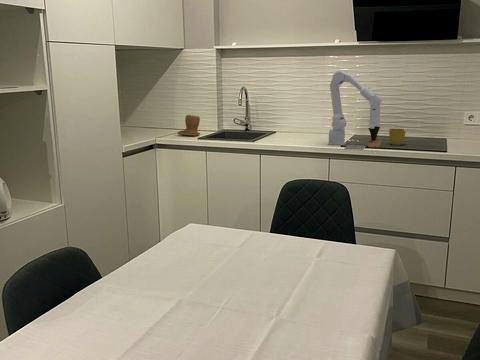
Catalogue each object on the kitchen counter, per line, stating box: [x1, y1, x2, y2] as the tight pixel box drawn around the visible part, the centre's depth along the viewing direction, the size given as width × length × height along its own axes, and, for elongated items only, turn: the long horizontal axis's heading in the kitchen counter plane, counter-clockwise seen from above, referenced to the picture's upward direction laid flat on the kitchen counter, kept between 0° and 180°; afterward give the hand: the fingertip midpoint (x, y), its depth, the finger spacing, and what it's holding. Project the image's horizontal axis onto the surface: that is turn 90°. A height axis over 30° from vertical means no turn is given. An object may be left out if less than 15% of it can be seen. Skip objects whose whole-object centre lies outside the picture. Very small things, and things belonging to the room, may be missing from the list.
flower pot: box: [388, 128, 407, 146], centre depth 291 cm, size 9×9×9 cm
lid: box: [366, 134, 382, 143], centre depth 286 cm, size 9×9×4 cm
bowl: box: [366, 141, 382, 148], centre depth 286 cm, size 8×8×3 cm
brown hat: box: [176, 114, 201, 137], centre depth 344 cm, size 15×12×15 cm
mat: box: [343, 144, 368, 151], centre depth 284 cm, size 11×11×1 cm
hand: (373, 139), depth 286 cm, fingers open, 3 cm apart
